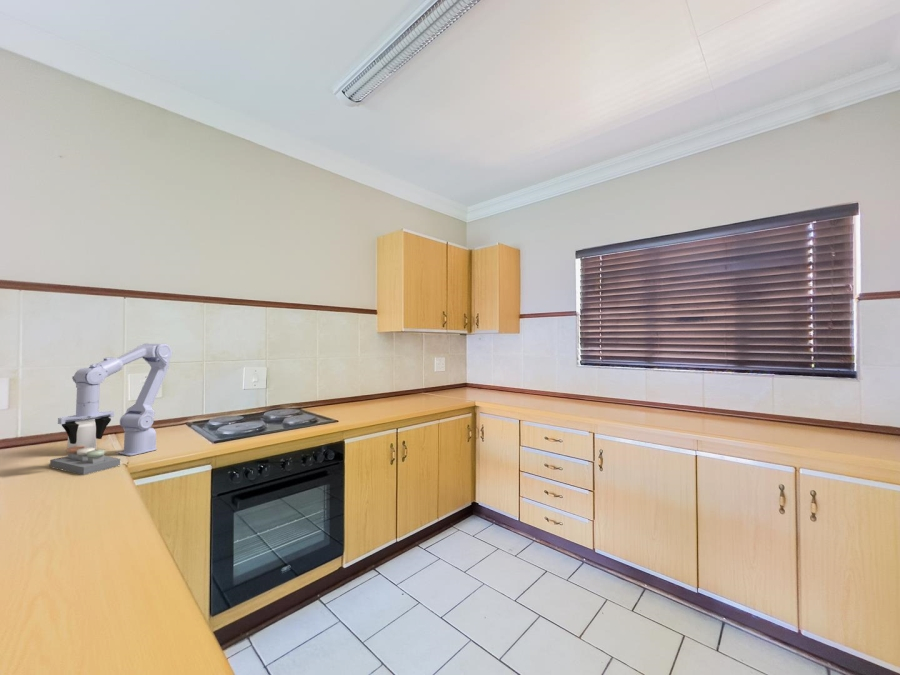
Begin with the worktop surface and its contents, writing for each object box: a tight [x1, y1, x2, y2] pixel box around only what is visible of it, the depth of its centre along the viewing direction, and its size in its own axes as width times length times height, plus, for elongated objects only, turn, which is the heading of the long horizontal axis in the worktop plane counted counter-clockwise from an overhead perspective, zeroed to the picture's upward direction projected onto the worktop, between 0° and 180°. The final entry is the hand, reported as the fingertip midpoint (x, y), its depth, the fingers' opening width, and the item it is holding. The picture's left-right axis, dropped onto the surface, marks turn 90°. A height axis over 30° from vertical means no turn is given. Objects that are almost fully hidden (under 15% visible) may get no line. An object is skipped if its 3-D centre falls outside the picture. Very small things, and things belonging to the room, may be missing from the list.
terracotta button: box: [66, 446, 85, 459], centre depth 130 cm, size 4×4×4 cm
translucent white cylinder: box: [66, 419, 98, 450], centre depth 144 cm, size 8×8×12 cm
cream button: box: [77, 448, 95, 461], centre depth 128 cm, size 4×4×4 cm
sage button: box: [87, 449, 106, 464], centre depth 126 cm, size 4×4×4 cm
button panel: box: [49, 455, 121, 476], centre depth 128 cm, size 20×10×2 cm, turn 69°
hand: (86, 440), depth 128 cm, fingers open, 6 cm apart
